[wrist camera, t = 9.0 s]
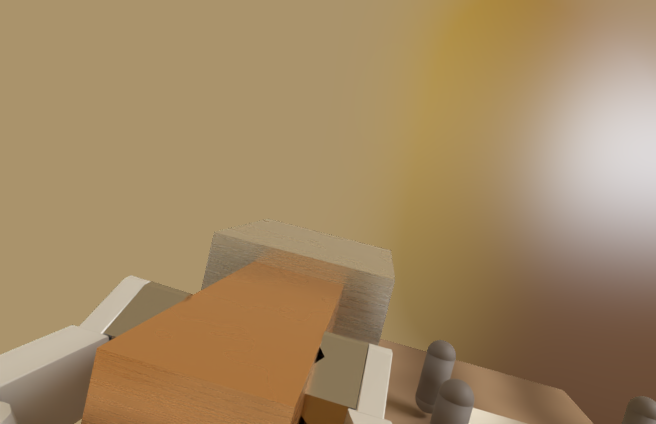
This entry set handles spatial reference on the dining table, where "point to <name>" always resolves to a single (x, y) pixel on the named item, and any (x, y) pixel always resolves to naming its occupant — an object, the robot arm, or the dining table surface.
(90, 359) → the robot arm
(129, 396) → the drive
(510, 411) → the tall wood grain block
